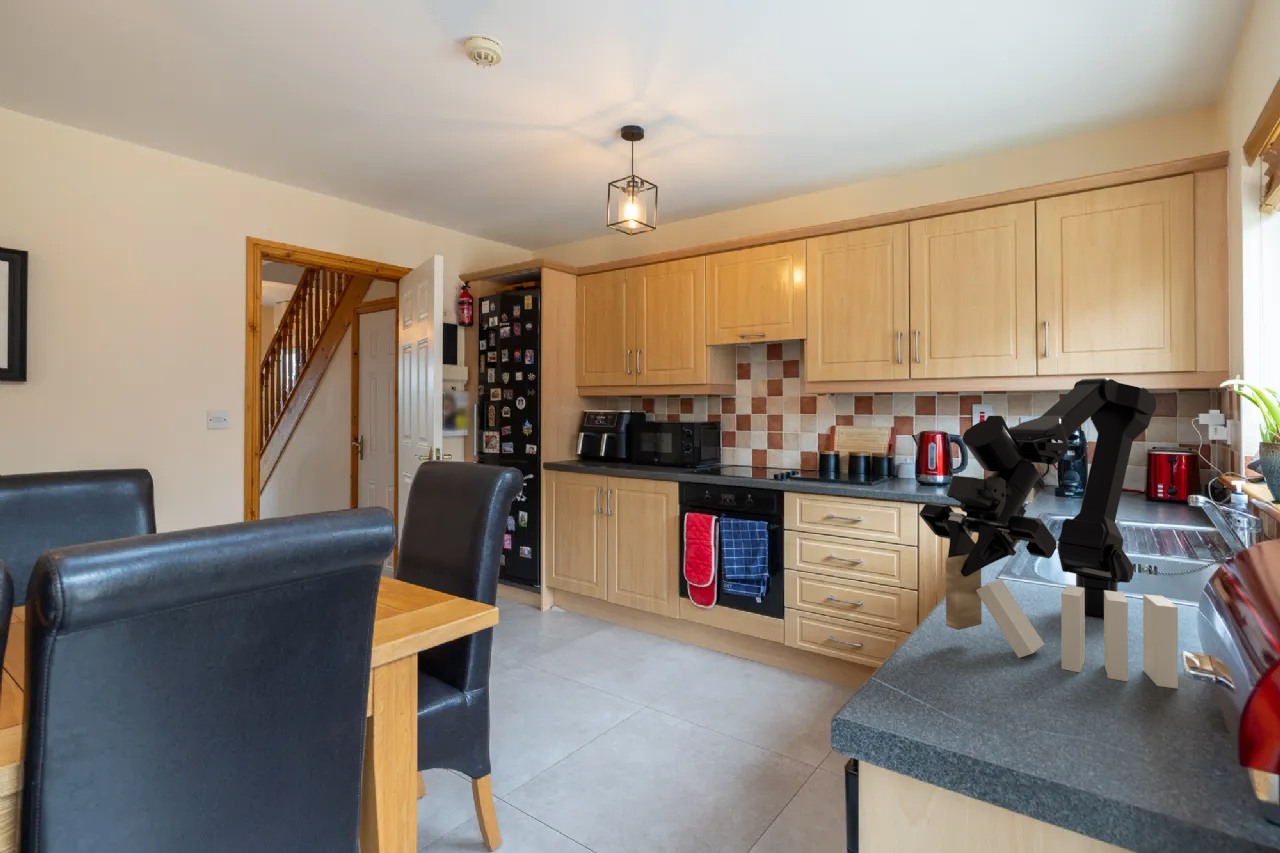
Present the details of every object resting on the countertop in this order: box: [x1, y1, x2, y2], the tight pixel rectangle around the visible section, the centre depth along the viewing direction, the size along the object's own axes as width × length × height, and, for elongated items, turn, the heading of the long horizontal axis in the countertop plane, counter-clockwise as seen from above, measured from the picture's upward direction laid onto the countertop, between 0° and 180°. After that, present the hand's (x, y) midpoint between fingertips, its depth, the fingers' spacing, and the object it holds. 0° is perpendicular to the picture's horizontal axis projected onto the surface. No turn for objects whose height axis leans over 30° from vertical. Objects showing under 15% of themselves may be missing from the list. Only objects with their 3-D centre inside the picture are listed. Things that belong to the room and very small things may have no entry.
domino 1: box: [945, 554, 982, 631], centre depth 91 cm, size 2×5×10 cm, turn 116°
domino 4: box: [1103, 590, 1129, 682], centre depth 80 cm, size 2×5×10 cm, turn 148°
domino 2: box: [976, 577, 1045, 659], centre depth 89 cm, size 2×5×10 cm
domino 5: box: [1142, 593, 1179, 689], centre depth 78 cm, size 2×5×10 cm, turn 156°
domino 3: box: [1060, 585, 1086, 673], centre depth 83 cm, size 2×5×10 cm, turn 139°
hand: (955, 572), depth 90 cm, fingers closed on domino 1, 2 cm apart
